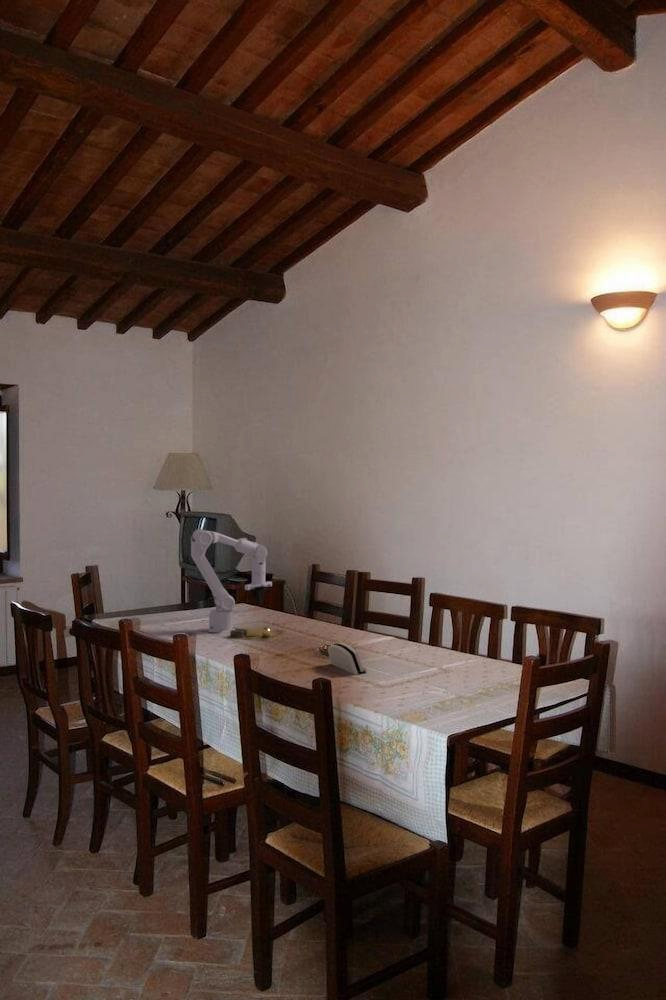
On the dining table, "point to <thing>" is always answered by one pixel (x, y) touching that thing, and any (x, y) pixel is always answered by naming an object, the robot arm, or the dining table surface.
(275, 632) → the door board
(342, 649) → the grey half-round piece
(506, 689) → the dining table surface
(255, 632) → the swing bar
